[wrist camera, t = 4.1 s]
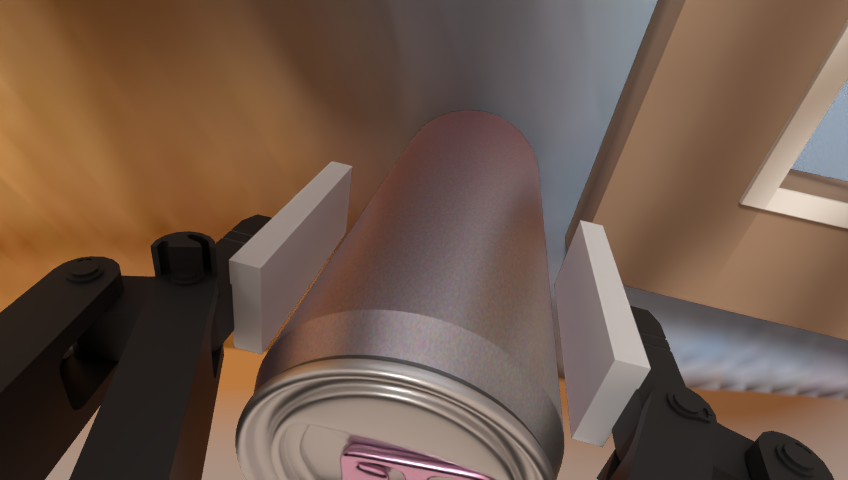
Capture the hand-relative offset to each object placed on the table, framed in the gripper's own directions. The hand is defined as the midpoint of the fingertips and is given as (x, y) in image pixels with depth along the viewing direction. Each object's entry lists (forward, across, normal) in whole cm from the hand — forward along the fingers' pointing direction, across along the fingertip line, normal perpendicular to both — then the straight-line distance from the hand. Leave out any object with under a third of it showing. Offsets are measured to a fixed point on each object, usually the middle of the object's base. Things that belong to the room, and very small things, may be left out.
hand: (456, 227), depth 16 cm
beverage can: (+5, 0, 0) cm, 5 cm away
